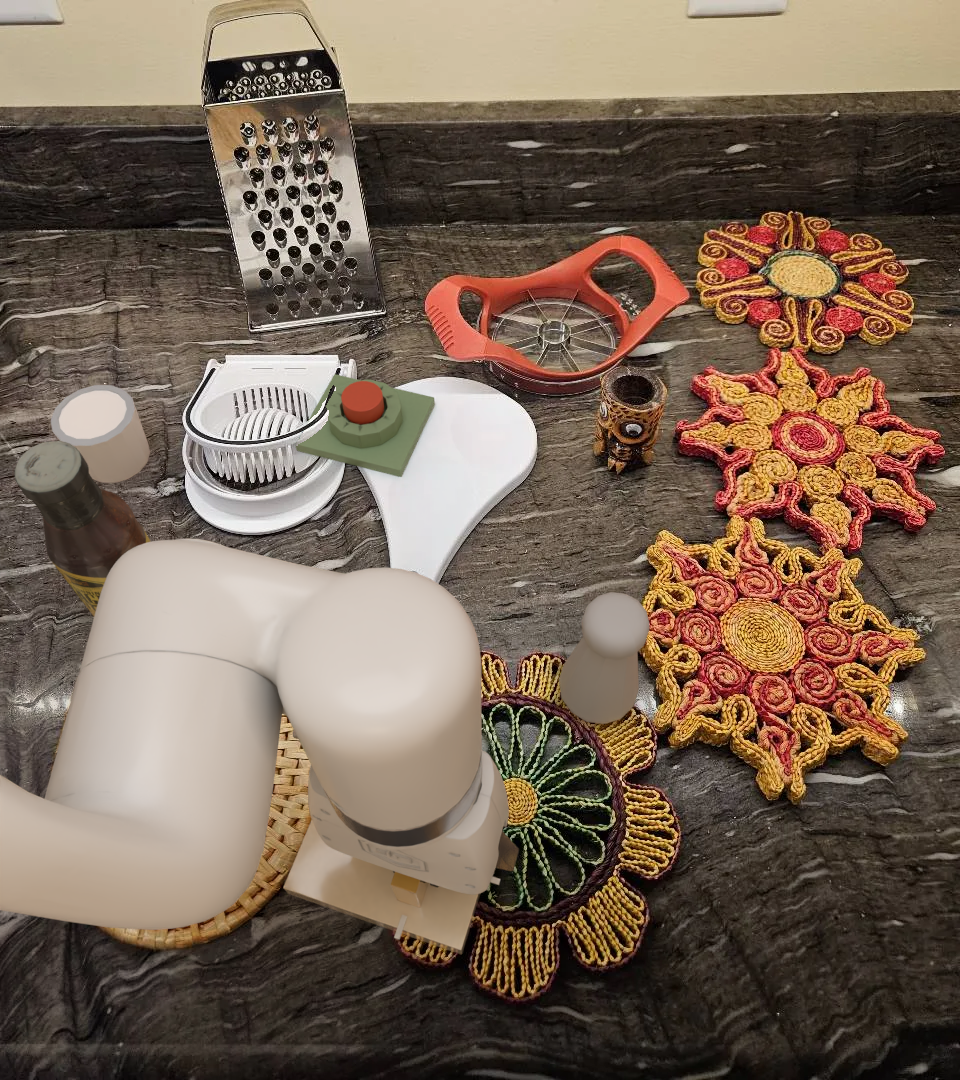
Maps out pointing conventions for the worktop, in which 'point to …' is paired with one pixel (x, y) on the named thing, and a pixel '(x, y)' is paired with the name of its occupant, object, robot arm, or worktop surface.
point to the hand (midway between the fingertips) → (424, 856)
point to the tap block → (378, 895)
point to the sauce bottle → (77, 517)
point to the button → (362, 402)
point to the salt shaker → (605, 659)
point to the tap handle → (409, 889)
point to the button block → (371, 429)
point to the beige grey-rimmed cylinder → (103, 431)
